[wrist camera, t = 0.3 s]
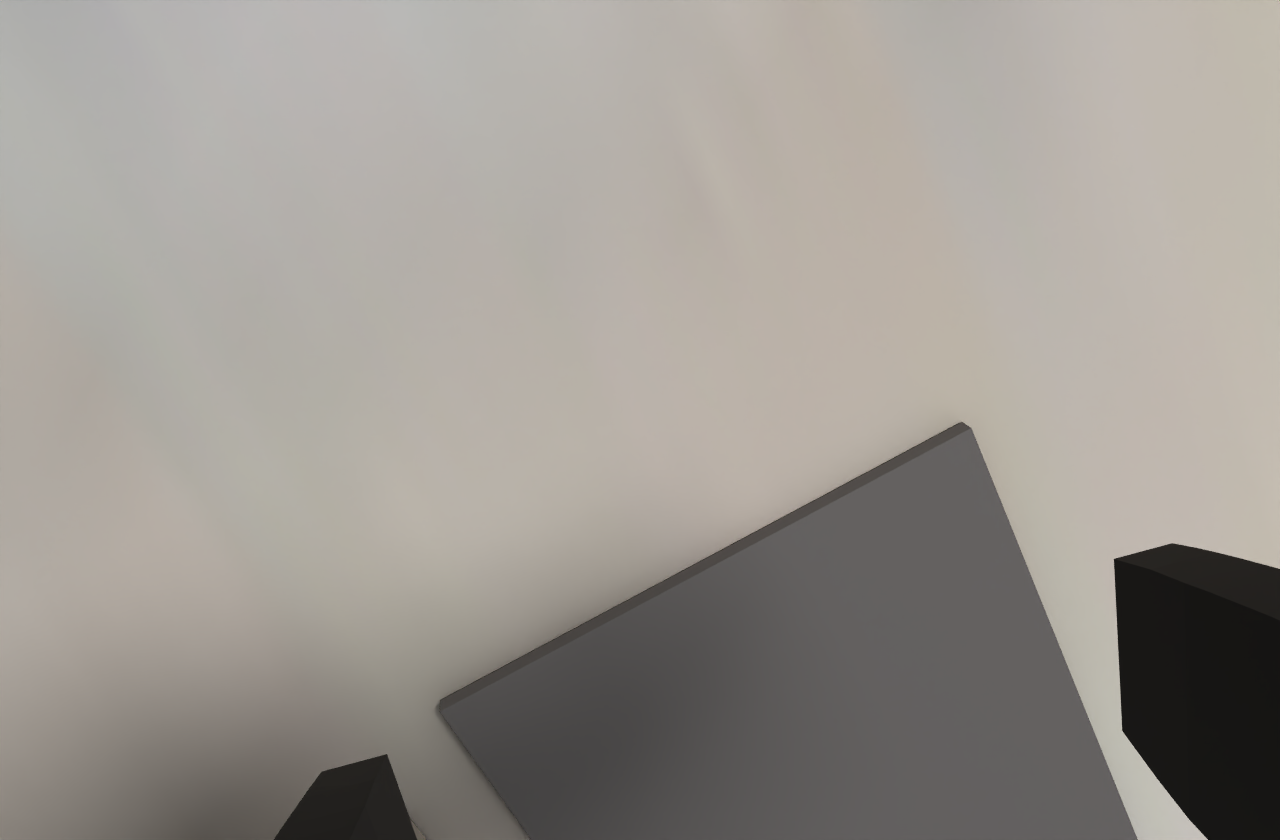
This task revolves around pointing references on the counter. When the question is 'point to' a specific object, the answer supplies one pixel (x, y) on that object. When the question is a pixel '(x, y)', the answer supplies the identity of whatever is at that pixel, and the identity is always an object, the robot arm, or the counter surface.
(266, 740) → the counter surface
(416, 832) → the tub
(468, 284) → the counter surface
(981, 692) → the mat
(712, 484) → the counter surface
